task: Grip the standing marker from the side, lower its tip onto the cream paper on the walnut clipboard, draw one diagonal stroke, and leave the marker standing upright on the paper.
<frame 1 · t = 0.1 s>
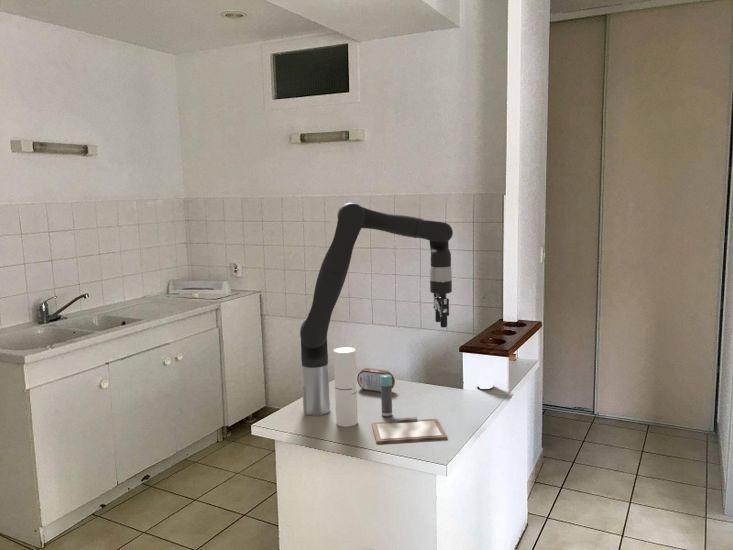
hand: (441, 324, 214), 29 cm above the table, tool pointing down, fingers open, 8 cm apart
tin: (375, 391, 235), on the table
clipboard: (408, 431, 194), on the table
marker: (387, 415, 209), on the table
cylindrical container: (347, 423, 203), on the table
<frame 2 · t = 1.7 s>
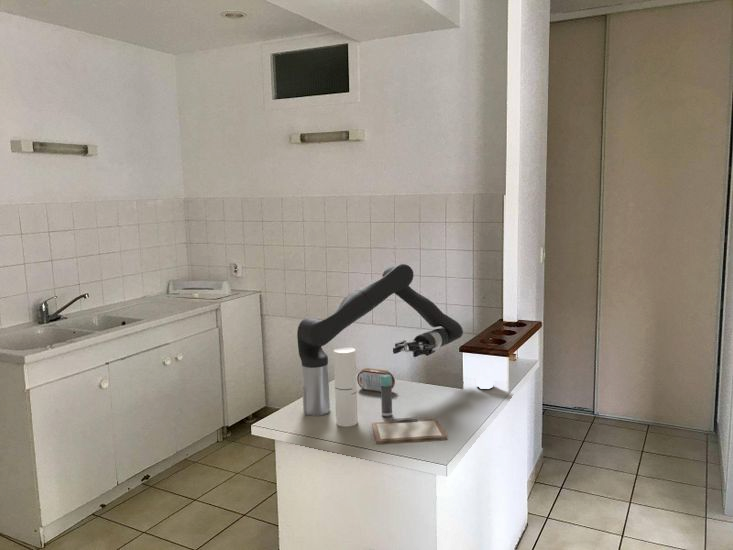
hand: (403, 352, 215), 20 cm above the table, tool horizontal, fingers open, 8 cm apart
nothing on the table moved.
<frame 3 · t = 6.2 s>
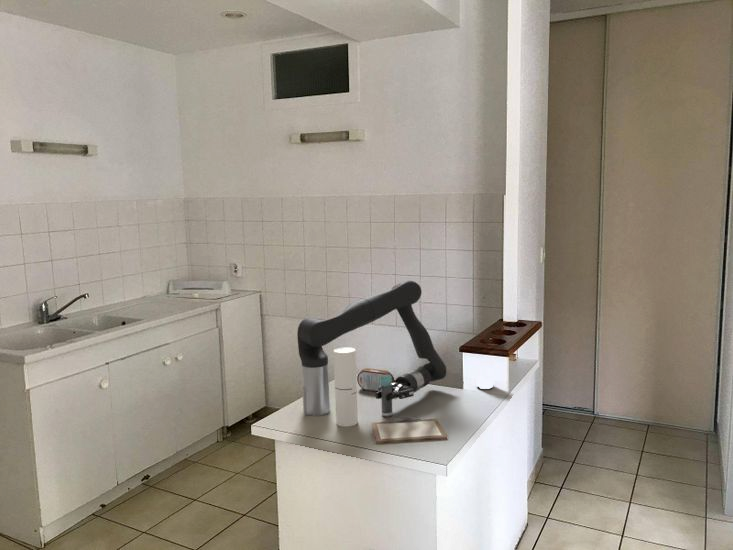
hand: (381, 397, 205), 7 cm above the table, tool horizontal, fingers closed on marker, 3 cm apart
marker: (387, 415, 209), on the table, touching gripper
everything else where it was.
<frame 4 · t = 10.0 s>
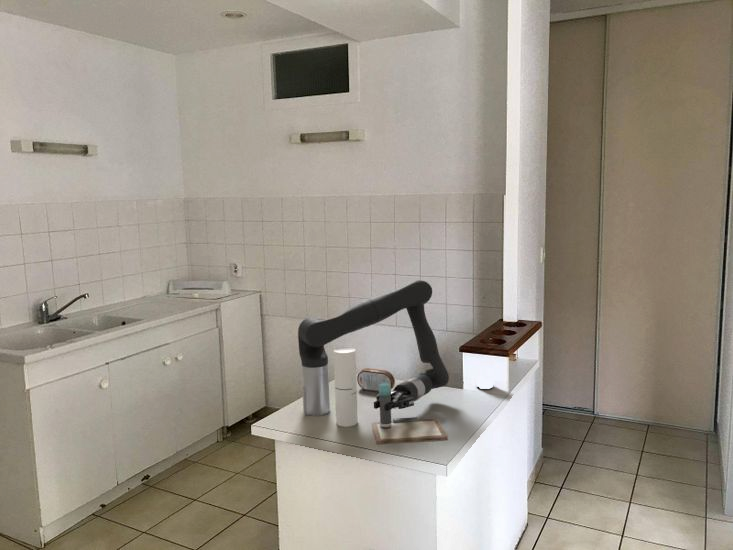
hand: (380, 406, 193), 9 cm above the table, tool horizontal, fingers closed on marker, 3 cm apart
marker: (385, 426, 196), point 1 cm above the table, touching gripper
everything else where it was.
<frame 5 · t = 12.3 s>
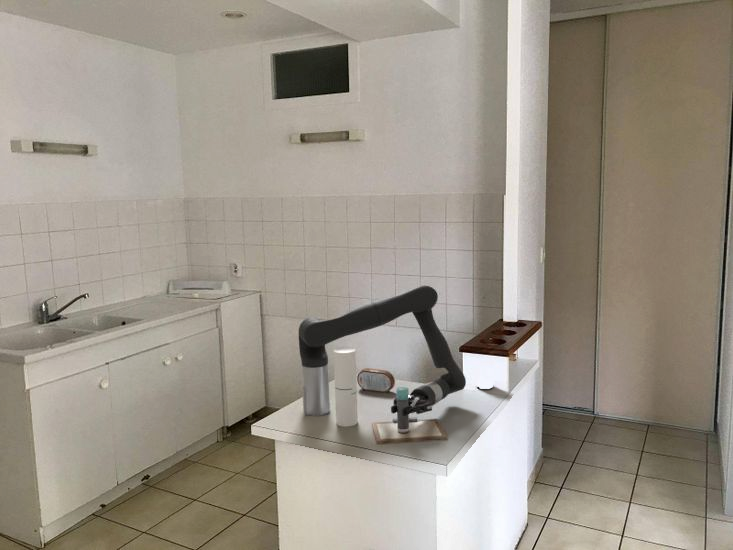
hand: (397, 411, 189), 9 cm above the table, tool horizontal, fingers closed on marker, 3 cm apart
marker: (403, 431, 192), point 1 cm above the table, touching gripper
everything else where it was.
when the fingers open (9 cm above the table, at t = 14.1 s): marker stays where it is, resting on clipboard.
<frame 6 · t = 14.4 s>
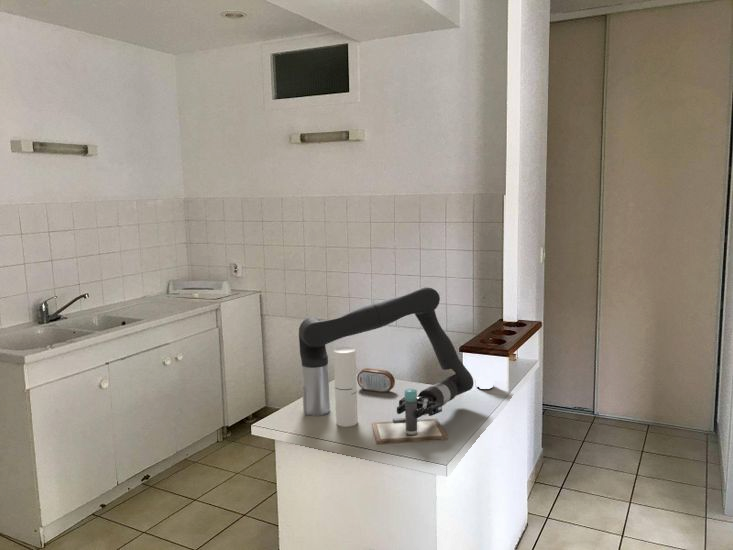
hand: (406, 412, 187), 9 cm above the table, tool horizontal, fingers open, 6 cm apart
marker: (411, 433, 190), point 1 cm above the table, touching clipboard
everything else where it was.
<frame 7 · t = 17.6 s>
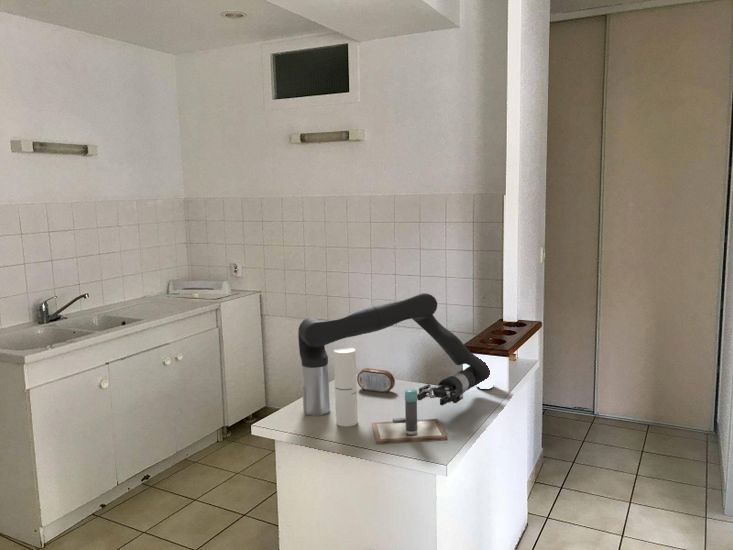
hand: (429, 399, 198), 9 cm above the table, tool horizontal, fingers open, 8 cm apart
nothing on the table moved.
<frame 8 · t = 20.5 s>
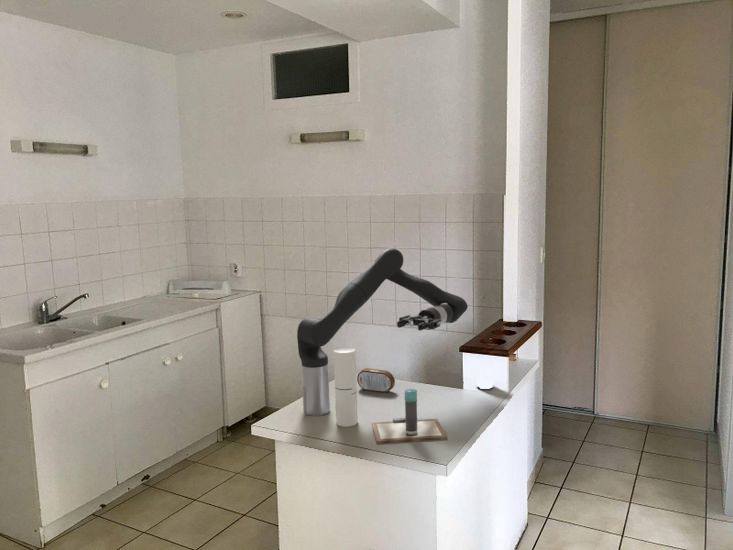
hand: (408, 326, 210), 30 cm above the table, tool horizontal, fingers open, 8 cm apart
nothing on the table moved.
at the end: marker 0.1 cm from the target spot, point 1.0 cm above the table; marker tilted 0°; the gripper is holding nothing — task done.
